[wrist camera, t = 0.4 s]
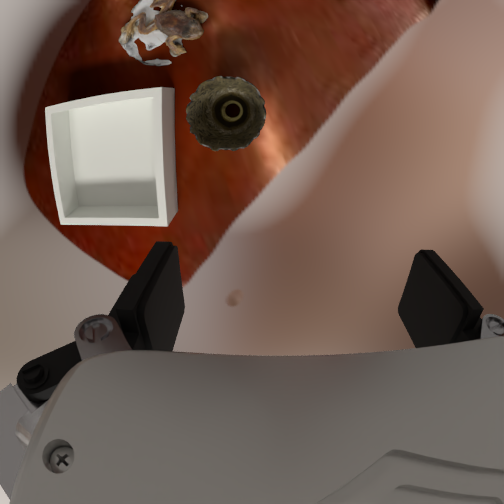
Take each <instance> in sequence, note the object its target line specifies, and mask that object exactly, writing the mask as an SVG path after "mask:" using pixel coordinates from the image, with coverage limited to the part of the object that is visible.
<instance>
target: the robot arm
mask: <svg viewBox="0 0 504 504" xmlns="http://www.w3.org/2000/svg"><path fill="white" fill-rule="evenodd" d="M184 308H185V305H184V297H183V290H182V281H181V273H180V265H179V256H178V248H177V246H173V244H172V242H156V243H155V244H154V246H153V247H152V249H151V251H150V252H149V254H148V255H147V257H146V258H145V260H144V262H143V263H142V265H141V266H140V268H139V269H138V271H137V273H136V274H134V275H133V276H132V277H131V278H130V280H129V281H128V283H127V285H126V286H125V288H124V290H123V292H122V293H121V295H120V296H119V298H118V300H117V302H116V303H115V305H114V306H113V308H112V310H111V311H110V313H109V315H104V314H98V315H93V316H90V317H88V318H86V319H84V320H83V321H82V322H80V323H79V324H78V326H77V327H76V329H75V332H74V337H75V341H74V342H72V343H70V344H67V345H65V346H63V347H61V348H58V349H56V350H54V351H52V352H50V353H47V354H45V355H43V356H40V357H38V358H36V359H34V360H31V361H29V362H28V363H26V364H25V365H24V366H23V367H22V368H21V369H20V371H19V373H18V376H17V384H16V385H14V386H12V384H11V383H10V384H9V385H8V386H7V387H5V388H4V389H3V390H2V391H0V485H1V486H2V488H3V489H4V491H5V493H6V494H7V496H8V497H9V499H10V504H504V320H503V319H502V318H500V317H499V316H496V315H493V314H488V315H485V316H484V317H483V319H481V318H480V315H481V313H482V311H483V308H482V306H481V305H480V303H479V302H478V301H477V300H476V298H475V297H474V296H473V295H472V293H471V292H470V291H469V290H468V289H467V288H466V286H465V285H464V284H463V283H462V282H461V280H460V279H459V278H458V277H457V276H456V275H455V273H454V272H453V271H452V270H451V269H450V268H449V267H448V266H447V264H446V263H445V262H444V261H443V260H442V259H441V258H440V257H439V256H438V255H437V254H436V252H435V251H433V250H420V251H419V252H418V253H417V254H416V255H415V257H414V260H413V264H412V267H411V270H410V274H409V276H408V280H407V283H406V286H405V289H404V292H403V295H402V298H401V300H400V303H399V306H398V313H399V316H400V318H401V320H402V321H403V323H404V325H405V327H406V329H407V331H408V333H409V335H410V337H411V339H412V341H413V343H414V345H415V347H416V348H414V349H405V350H395V351H384V352H372V353H358V354H339V355H311V356H310V355H309V356H256V355H253V356H252V355H226V354H207V353H191V352H190V353H189V352H173V351H172V350H173V347H174V344H175V340H176V337H177V334H178V330H179V327H180V324H181V321H182V317H183V314H184Z"/></svg>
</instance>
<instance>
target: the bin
mask: <svg viewBox="0 0 504 504" xmlns="http://www.w3.org/2000/svg"><path fill="white" fill-rule="evenodd" d="M45 114H46V130H47V141H48V151H49V160H50V167H51V175H52V181H53V187H54V193H55V199H56V204H57V209H58V214H59V219H60V223H61V225H132V226H168V225H169V223H170V222H171V220H172V219H173V217H174V216H175V214H176V213H177V211H178V203H177V185H176V161H175V88H167V87H158V88H148V89H139V90H131V91H124V92H117V93H111V94H105V95H99V96H94V97H88V98H84V99H79V100H74V101H70V102H65V103H61V104H57V105H53V106H49V107H46V108H45Z"/></svg>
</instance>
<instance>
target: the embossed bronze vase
mask: <svg viewBox="0 0 504 504" xmlns="http://www.w3.org/2000/svg"><path fill="white" fill-rule="evenodd" d="M190 99H191V102H190V103H189V104H188V105H187V108H186V113H187V117H186V119H187V121H188V123H189V124H190V125H191V127H190V132H191V133H193V134H195V136H196V139H197V141H198V142H199V143H200V144H201V145H203V146H206V147H209V148H211V150H214V151H218V150H219V149H224V150H228V149H231V150H232V151H236V150H238V149H239V148H245V147H247V146H248V145H249V144H250V143H251V142H252V141H253V139H254V138H255V139H256V138H257V137H258V136H259V134H260V130H261V129H262V127H263V126H264V123H265V118H266V109H265V107H264V104H265V101H264V99H263V98H262V97H261V95H260V93H259V91H258V89H257V88H256V87H255V86H254V85H253V84H251V83H249V82H247V81H246V80H244V79H243V78H241V77H236V78H234V77H222V76H217V77H214V78H213V79H210V80H207V81H205V82H203V83H201V84H200V85H199V86H198V88H197V90H196V92H195V93H193V94H192V95H191V96H190ZM230 104H235V105H237V106H238V107H239V109H240V112H239V114H238V115H237V116H236V117H229V116H228V115H227V114H226V107H227V106H228V105H230Z"/></svg>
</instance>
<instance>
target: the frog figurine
mask: <svg viewBox="0 0 504 504" xmlns="http://www.w3.org/2000/svg"><path fill="white" fill-rule="evenodd" d="M175 1H176V0H141V1H139V2H138V4H137V5H136V6H135V7H134V8H133V9H132V11H131V12H132V13H133V14H134V15H133V16H132V17H131V20H130V22H128V23H126V26H125V27H122V28H121V33H122V34H121V36H120V38H119V42H120V44H121V45H122V46H123V48H124V49H125V50H126V51H127V53H128V54H129V56H132V57H134V58H135V59H137V60H139V61H140V62H142V63H143V64H145V65H156V66H163V65H169V64H171V63H172V62H171V61H169V60H159V59H155V60H149V61H145V62H144V61H142V58H141V57H140V55H139V54H138V49H137V45H136V44H135V43H134V41H135V40H136V39H137V38H140V40H141V41H142V42H144V43H145V44H146V49H147V50H151V49H153V48H155V47H157V46H160V45H161V44H162V43H164V42H165V43H166V45H167V46H168V47H169V48H170V54H171V55H172V56H174V57H176V56H178V55H180V54H183V53H186V51H185V48H184V47H182V45H183V44H182V42H181V40H182V39H186V40H193V39H197V38H199V37H200V36H202V35H203V32H204V30H203V29H202V27H201V25H200V23H203V22H204V21H205V20H206V19H207V18H208V15H207V13H205V12H203V11H198V10H197V9H194V8H191V7H187V8H186V9H185V11H181V10H172V8H173V5H174V2H175ZM181 6H182V5H181ZM154 7H161V10H160V11H155V10H153V8H154ZM190 14H191V15H190Z"/></svg>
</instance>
